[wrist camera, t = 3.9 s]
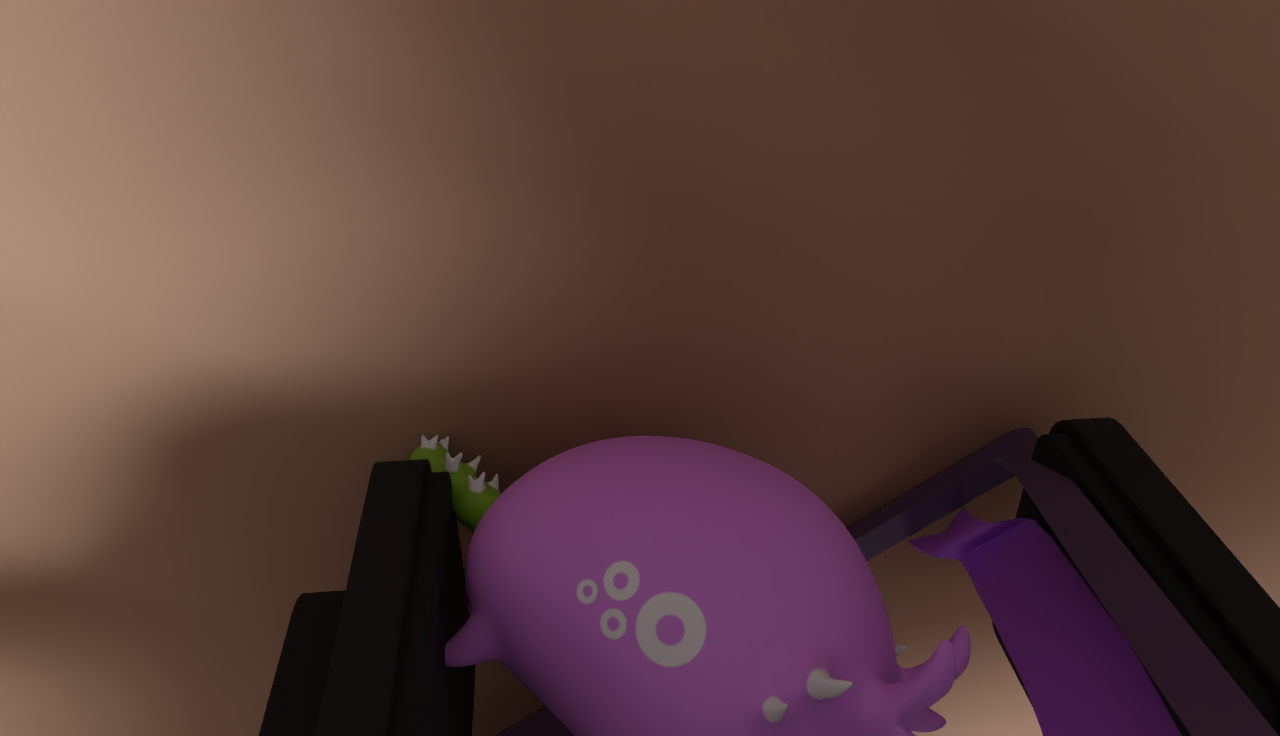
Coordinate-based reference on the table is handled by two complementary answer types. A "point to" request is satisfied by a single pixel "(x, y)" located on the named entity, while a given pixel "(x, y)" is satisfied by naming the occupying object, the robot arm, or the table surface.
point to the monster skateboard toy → (803, 600)
